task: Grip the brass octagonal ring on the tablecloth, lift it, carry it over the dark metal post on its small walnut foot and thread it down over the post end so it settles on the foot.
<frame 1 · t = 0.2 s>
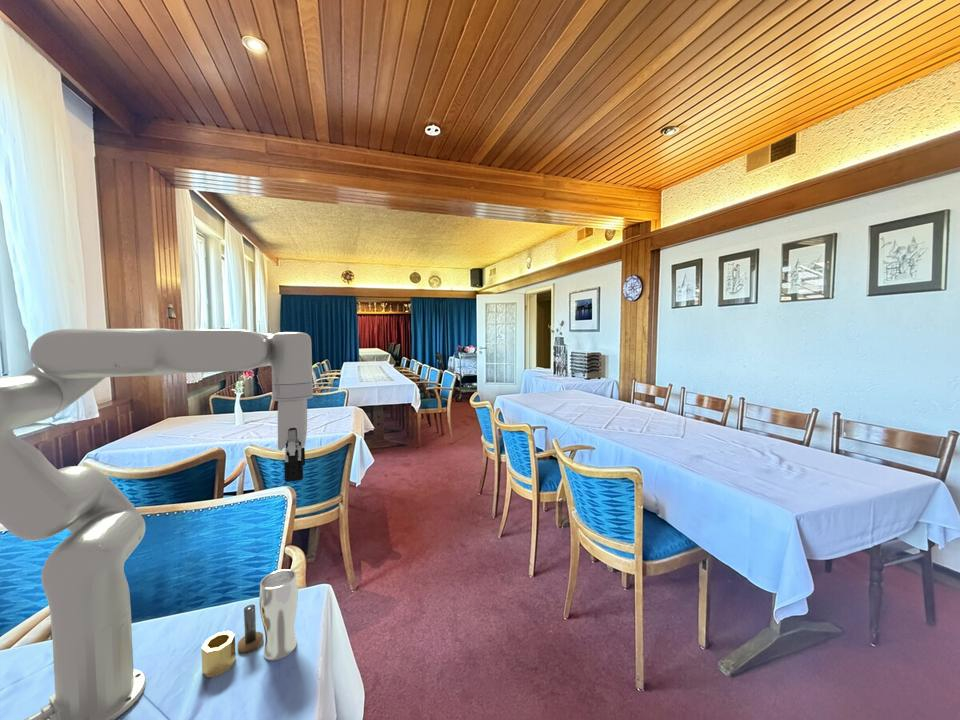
hand: (295, 473, 78), 36 cm above the table, tool pointing down, fingers open, 9 cm apart
silver metal vase: (280, 649, 78), on the table
brass ring: (219, 665, 74), on the table
stand: (250, 644, 79), on the table
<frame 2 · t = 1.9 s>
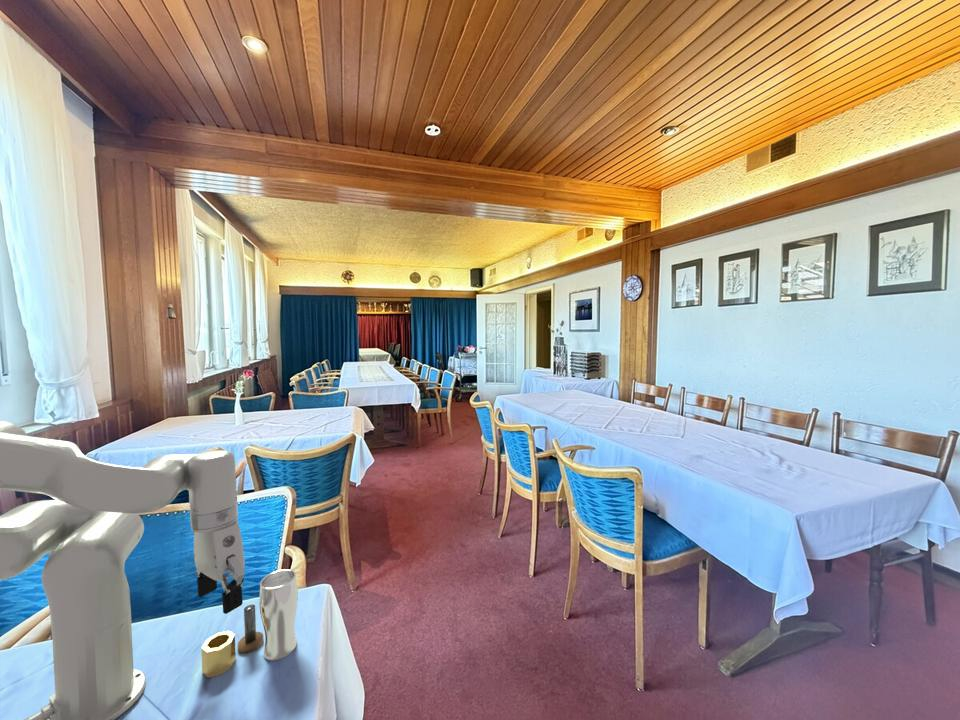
hand: (220, 600, 74), 13 cm above the table, tool pointing down, fingers open, 9 cm apart
nothing on the table moved.
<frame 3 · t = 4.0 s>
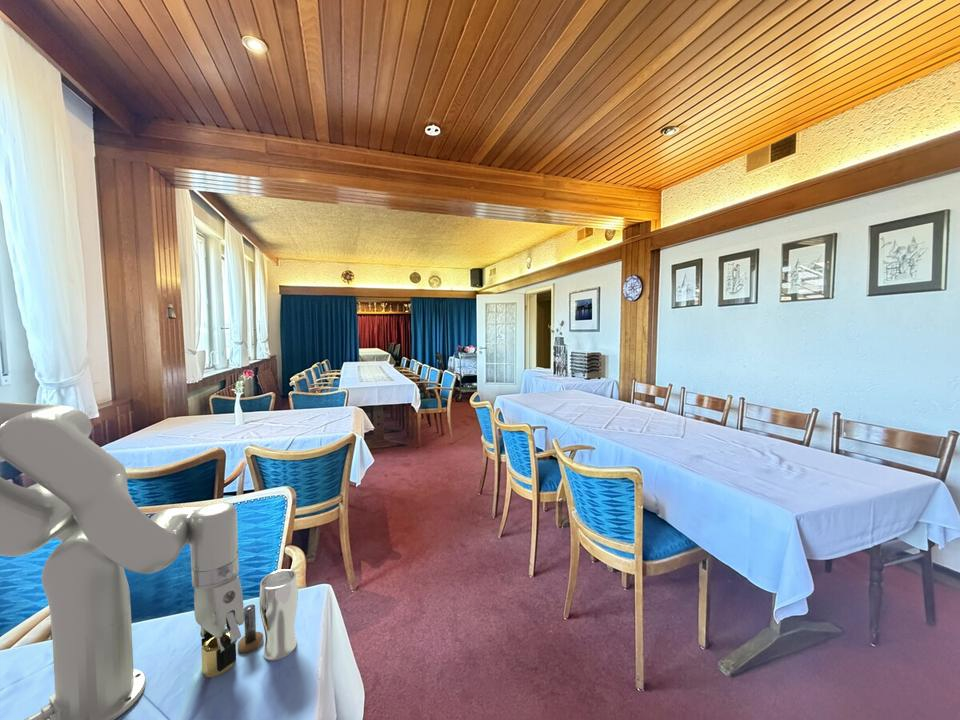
hand: (219, 658, 74), 1 cm above the table, tool pointing down, fingers closed on brass ring, 5 cm apart
brass ring: (219, 665, 74), on the table, touching gripper
everything else where it was.
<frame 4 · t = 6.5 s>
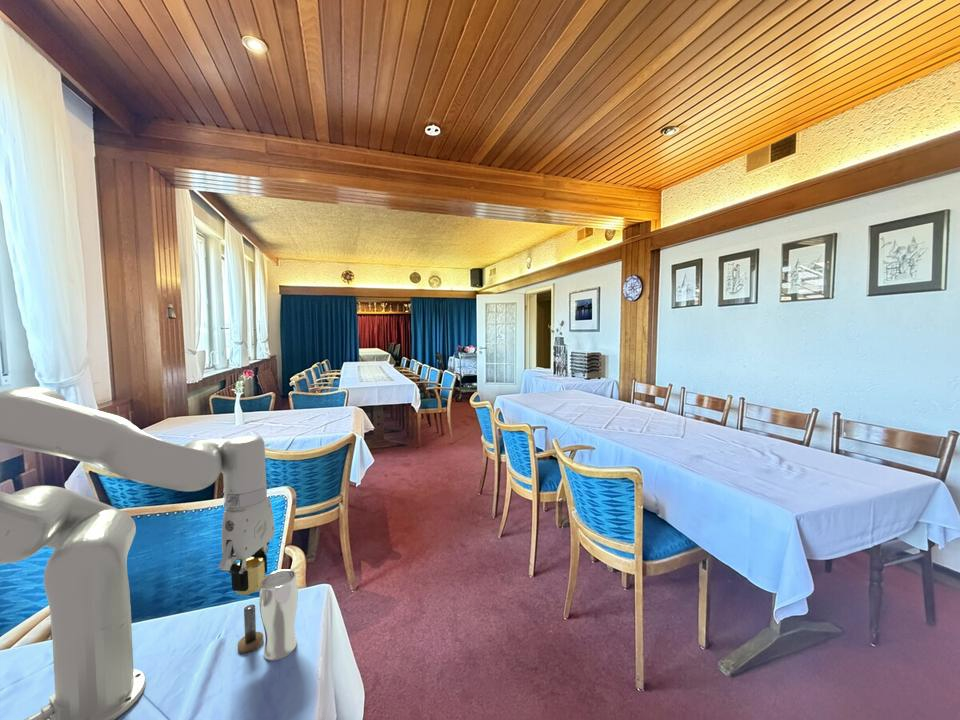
hand: (250, 580, 79), 14 cm above the table, tool pointing down, fingers closed on brass ring, 5 cm apart
brass ring: (250, 586, 79), point 12 cm above the table, touching gripper
everything else where it was.
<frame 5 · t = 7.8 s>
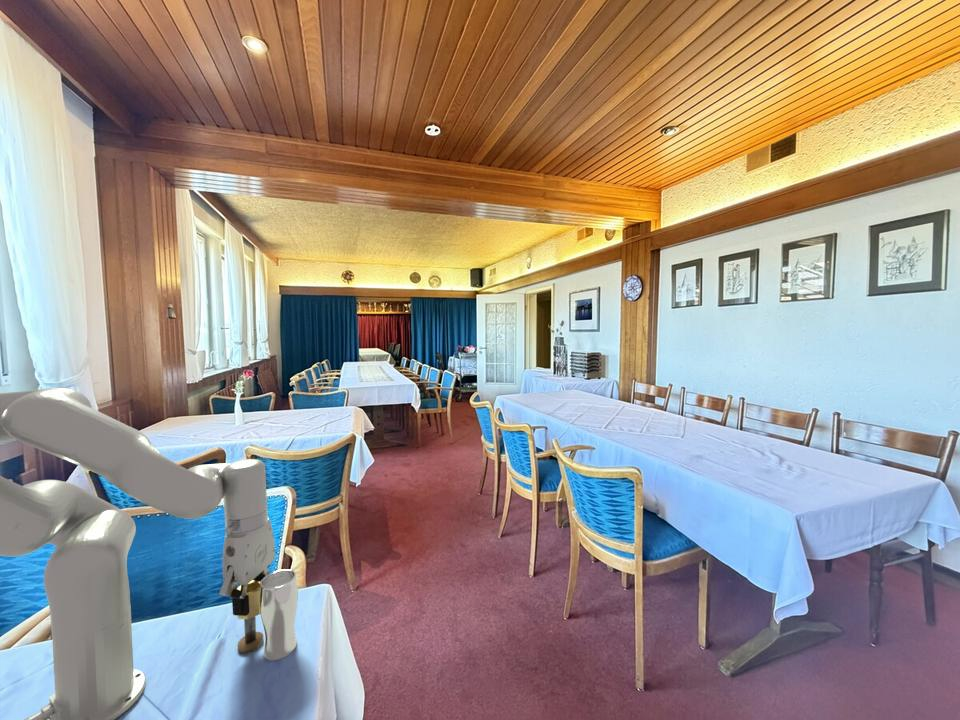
hand: (251, 603, 79), 9 cm above the table, tool pointing down, fingers closed on brass ring, 5 cm apart
brass ring: (251, 610, 79), point 7 cm above the table, touching gripper
everything else where it was.
when the fingers open (6 cm above the table, at t = 9.1 s): brass ring drops 3 cm, resting on stand.
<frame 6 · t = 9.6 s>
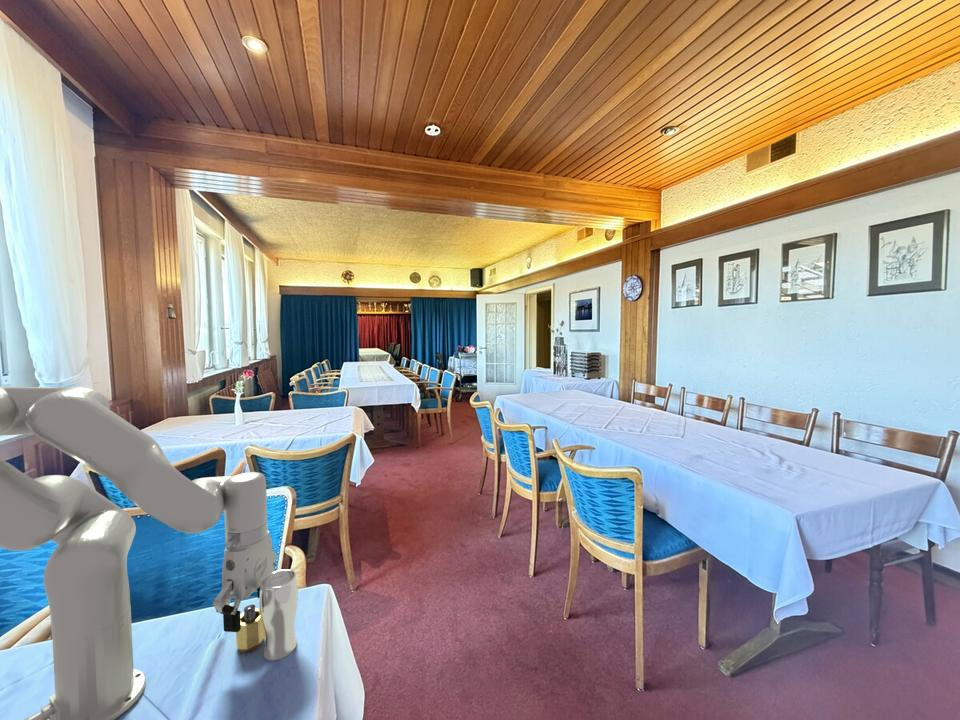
hand: (249, 613, 79), 7 cm above the table, tool pointing down, fingers open, 9 cm apart
brass ring: (251, 639, 79), point 1 cm above the table, touching stand
everything else where it was.
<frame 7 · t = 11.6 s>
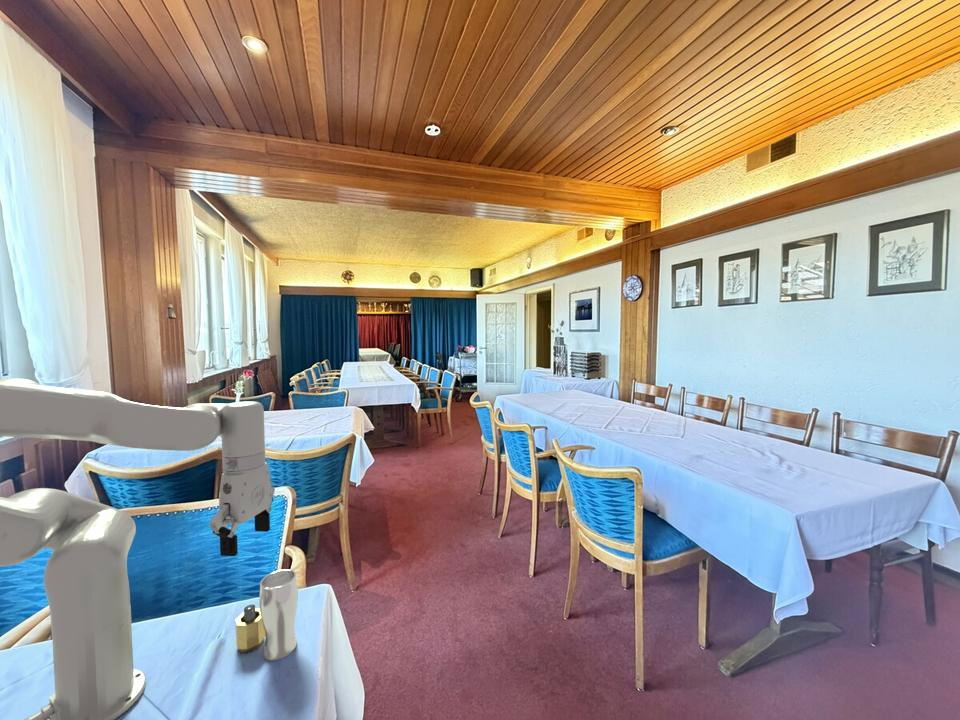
hand: (246, 542, 78), 22 cm above the table, tool pointing down, fingers open, 9 cm apart
nothing on the table moved.
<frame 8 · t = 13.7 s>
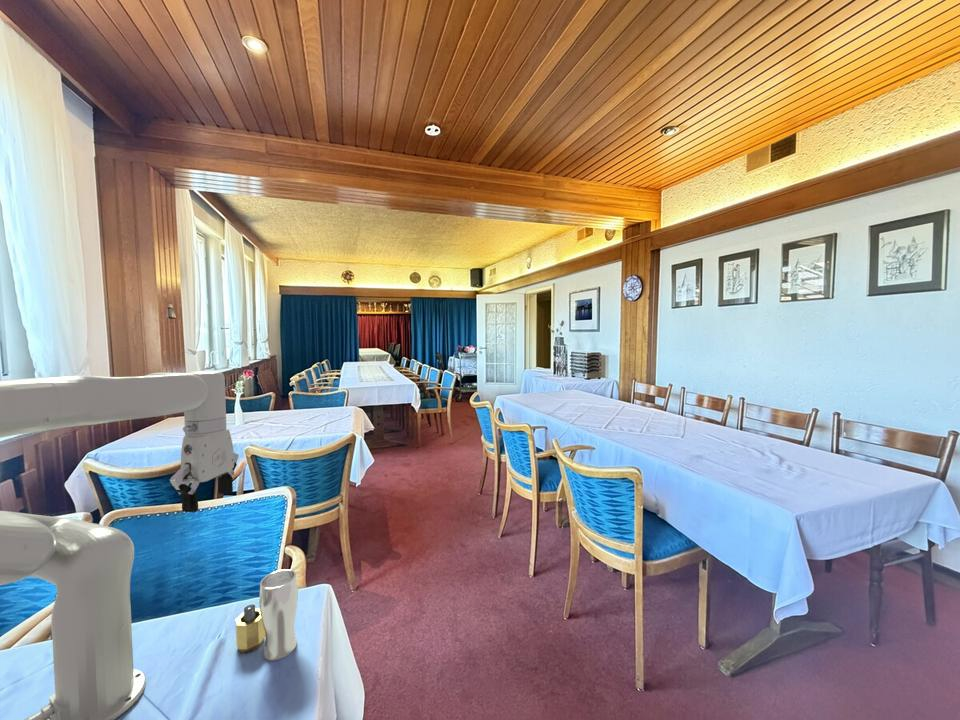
hand: (209, 501, 84), 28 cm above the table, tool pointing down, fingers open, 9 cm apart
nothing on the table moved.
at the end: brass ring 0.1 cm from the target spot, point 1.0 cm above the table; brass ring tilted 0°; the gripper is holding nothing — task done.
